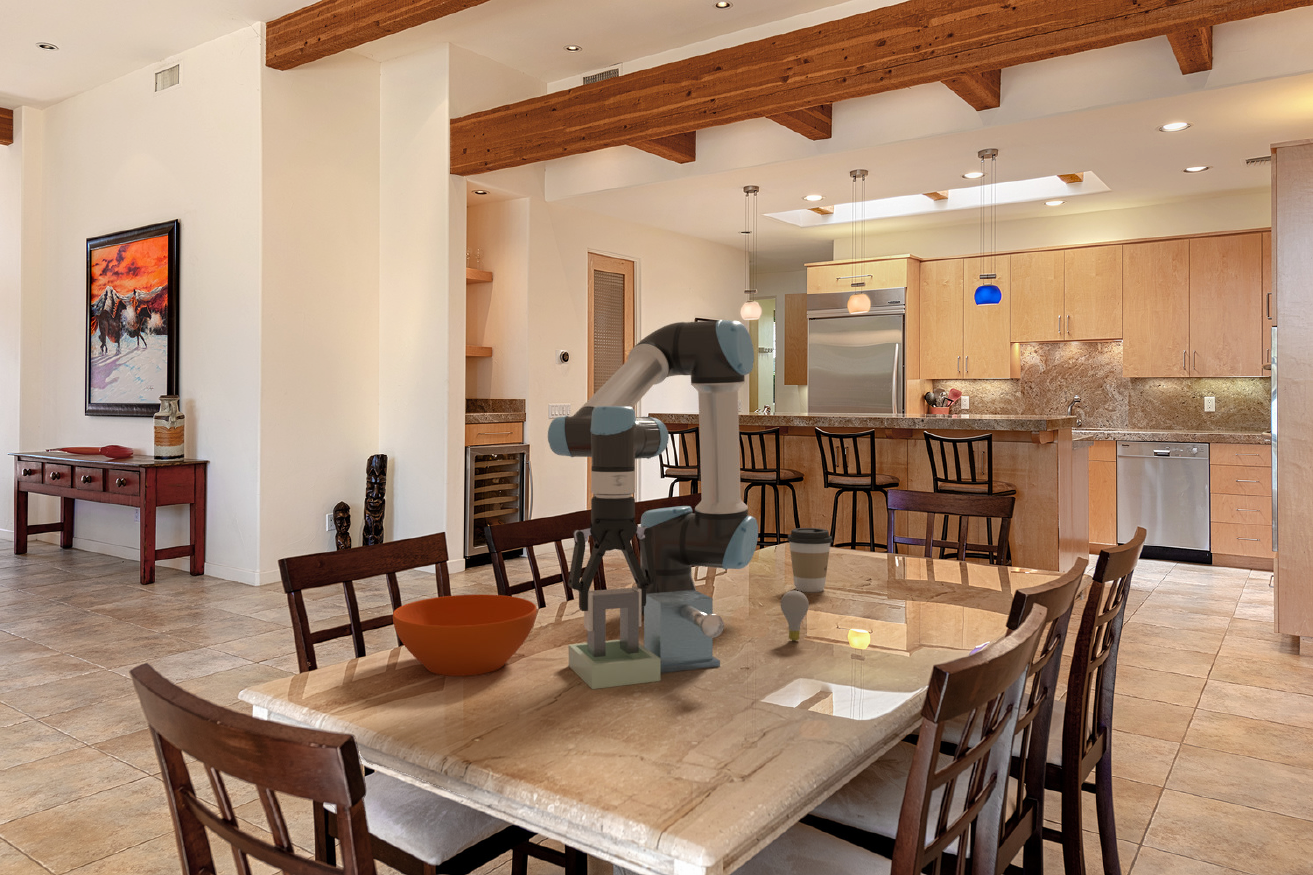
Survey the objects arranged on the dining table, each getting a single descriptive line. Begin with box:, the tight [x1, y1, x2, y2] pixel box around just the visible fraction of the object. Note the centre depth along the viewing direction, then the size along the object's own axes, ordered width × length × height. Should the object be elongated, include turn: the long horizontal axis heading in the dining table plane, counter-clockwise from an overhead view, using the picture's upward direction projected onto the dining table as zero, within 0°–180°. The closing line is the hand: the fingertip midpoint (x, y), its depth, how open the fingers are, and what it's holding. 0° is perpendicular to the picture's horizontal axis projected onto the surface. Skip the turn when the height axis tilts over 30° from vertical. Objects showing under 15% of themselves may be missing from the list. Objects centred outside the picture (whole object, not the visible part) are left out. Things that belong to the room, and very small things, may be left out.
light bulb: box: [780, 589, 810, 642], centre depth 175 cm, size 6×6×10 cm
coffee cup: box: [787, 527, 834, 593], centre depth 225 cm, size 11×11×15 cm
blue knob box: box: [643, 589, 725, 674], centre depth 156 cm, size 20×12×12 cm, turn 22°
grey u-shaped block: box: [586, 587, 640, 657], centre depth 154 cm, size 4×8×10 cm, turn 112°
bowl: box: [392, 594, 538, 677], centre depth 159 cm, size 25×25×10 cm
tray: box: [568, 639, 661, 690], centre depth 154 cm, size 14×12×4 cm
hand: (612, 626), depth 154 cm, fingers closed on grey u-shaped block, 8 cm apart
